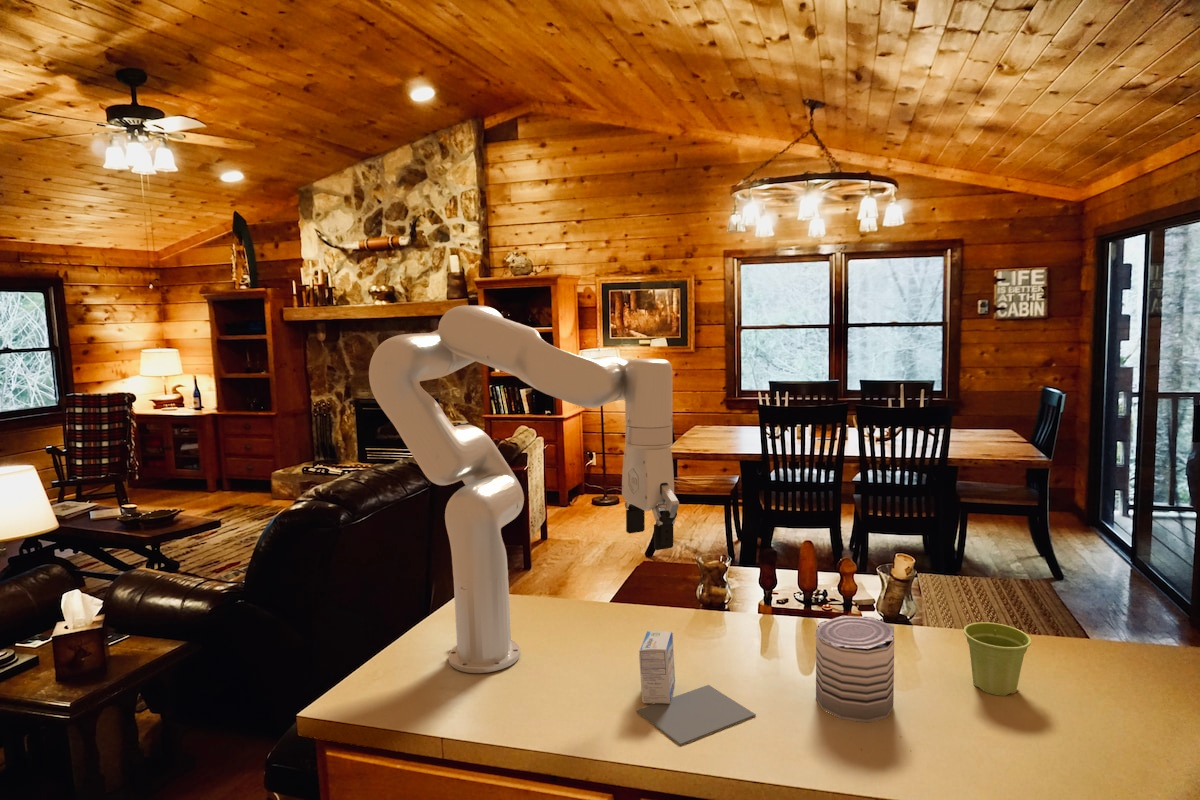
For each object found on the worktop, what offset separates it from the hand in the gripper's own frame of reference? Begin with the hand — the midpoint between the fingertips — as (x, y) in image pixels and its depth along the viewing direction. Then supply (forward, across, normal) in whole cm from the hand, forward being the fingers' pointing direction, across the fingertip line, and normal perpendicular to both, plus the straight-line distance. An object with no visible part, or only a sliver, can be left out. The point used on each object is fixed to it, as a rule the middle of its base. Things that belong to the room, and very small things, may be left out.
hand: (649, 540), depth 123 cm
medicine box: (+24, +6, -1) cm, 24 cm away
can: (+23, +22, +24) cm, 40 cm away
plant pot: (+23, +28, +47) cm, 59 cm away
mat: (+23, +13, +1) cm, 27 cm away
